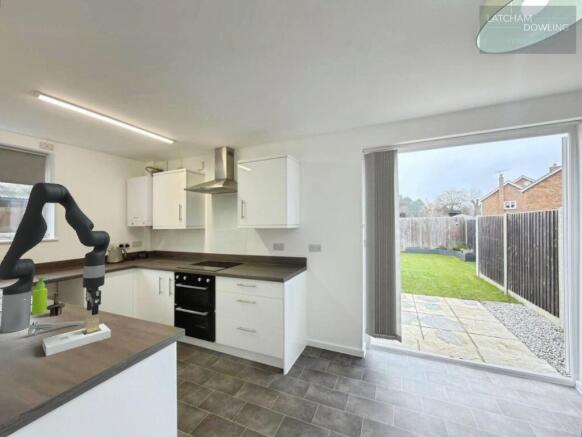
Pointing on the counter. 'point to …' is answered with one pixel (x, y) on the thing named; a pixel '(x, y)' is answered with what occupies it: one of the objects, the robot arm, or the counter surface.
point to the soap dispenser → (40, 297)
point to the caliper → (49, 325)
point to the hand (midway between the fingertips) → (92, 312)
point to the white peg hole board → (73, 339)
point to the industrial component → (56, 306)
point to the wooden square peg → (91, 325)
